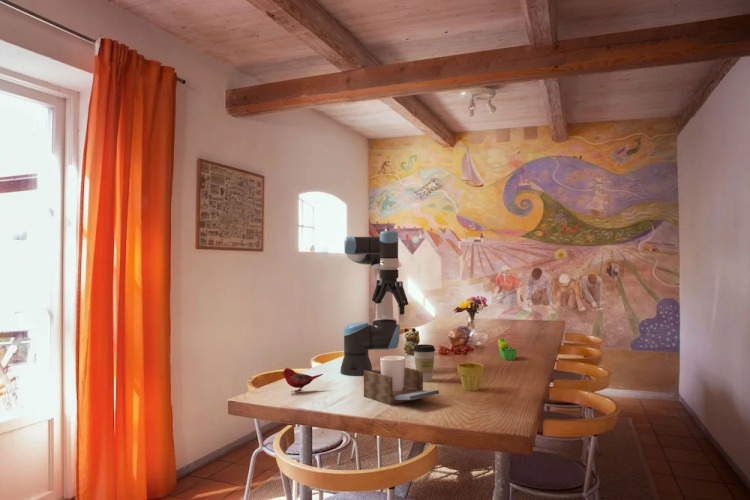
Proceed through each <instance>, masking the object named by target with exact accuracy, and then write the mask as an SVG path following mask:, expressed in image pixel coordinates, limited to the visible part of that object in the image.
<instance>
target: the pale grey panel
mask: <svg viewBox="0 0 750 500" xmlns="http://www.w3.org/2000/svg"><path fill="white" fill-rule="evenodd" d="M439 394H440V389H435V390H433V389H431V390H426V389H425V390H424V389H423V391H416V392H412V393H407V394H403V395H398V396H394V400H411V401H415V400H417V399H423V398H427V397H430V396H435V395H439Z"/></svg>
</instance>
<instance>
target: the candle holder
mask: <svg viewBox="0 0 750 500" xmlns="http://www.w3.org/2000/svg"><path fill="white" fill-rule="evenodd" d="M379 364H380V374H382V375H386V376H390V377H392V385H393V392H396V391H401V390H403V389H404V370H405V367H406V357H405V356H402V355H401V356H400V355H384V356H380V357H379Z"/></svg>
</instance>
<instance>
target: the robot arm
mask: <svg viewBox="0 0 750 500" xmlns="http://www.w3.org/2000/svg"><path fill="white" fill-rule="evenodd" d="M379 233H380V234H379V236H346V237H345V238H344V246H343V247H344V249H343V250H344V253H345V255H347V258H348V259H349V260H350V261H352V262H354V263H356V264H360V265H370V268H371V269H372V270H373V271H374V291H373V295H372V298H371V301H372V302H374V307H375V308H374V309H375V310H374V311H375V318H374V319H372V324H369V322H368V321H359V322H358V321H357V322H353V323H349V324H346V325H345V326H344V327H343V344H344V345H343V359H342V362H341V365H340V373H341V374H342V375H346V376H364V371H365V370H367V371H371V372H373V365H372V362H371V360H370V355H369V351H370V350H373V351H375V350H377V351H378V350H381V351H382V350H388V351H389V350H395V349H397V348H398V346H399V342H400V341H399V340H400V336H401V325H400V324H401V323H405V319H404V318H405V316H404V315H405V307H406V306H408V305H409V301H408V298H407V295H406V293H405V289H404V284H403V281H398V279H399V269H398V268H399V233H398V232H397V231H395V230H393V231H391V230H389V231H388V230H387V231H386V230H384V231H380V232H379ZM393 299H394V300H395V301H396V303H397V307H396V308H397V309H396V310H397V312H396V313H397V314H396V315H397V318H396V319H395V317H394V303H393V301H394V300H393Z"/></svg>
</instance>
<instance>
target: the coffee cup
mask: <svg viewBox="0 0 750 500" xmlns="http://www.w3.org/2000/svg"><path fill="white" fill-rule="evenodd" d="M413 351H414V355H413V357H414V364H415V370H419V371H423V383H428V382H432V381H433V373H434V363H435V351H436V348H435V346H434V345H432V344H426V343H423V344H418V345H415V346H414V349H413Z"/></svg>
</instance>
